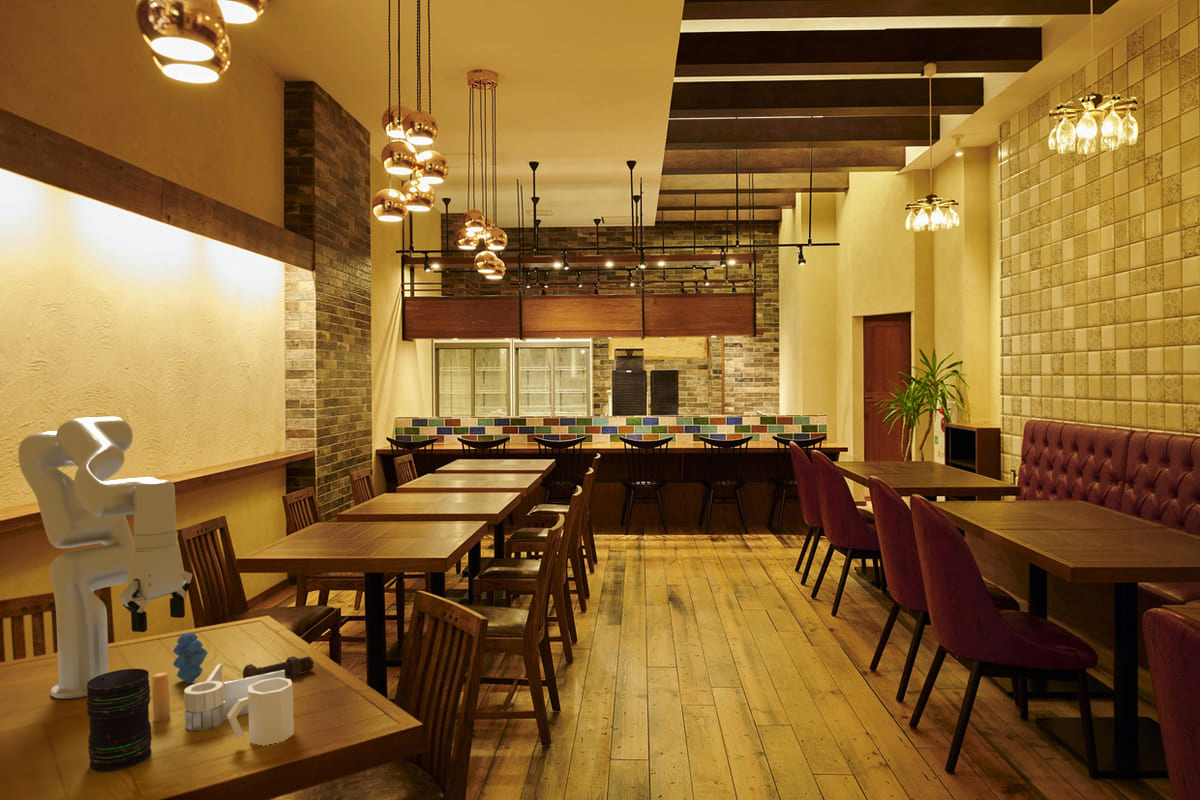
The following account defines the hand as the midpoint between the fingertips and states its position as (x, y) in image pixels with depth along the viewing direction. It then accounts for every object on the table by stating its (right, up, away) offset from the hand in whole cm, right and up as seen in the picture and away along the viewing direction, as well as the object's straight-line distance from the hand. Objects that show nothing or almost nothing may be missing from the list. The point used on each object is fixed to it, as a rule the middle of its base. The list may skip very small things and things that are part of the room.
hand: (159, 624), depth 160 cm
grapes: (-4, -20, +21) cm, 29 cm away
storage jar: (+3, -20, -17) cm, 27 cm away
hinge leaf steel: (+16, -19, +1) cm, 25 cm away
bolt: (+16, -19, +21) cm, 33 cm away
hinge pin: (0, -20, 0) cm, 20 cm away
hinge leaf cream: (+9, -19, +3) cm, 21 cm away
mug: (+26, -19, -10) cm, 34 cm away
